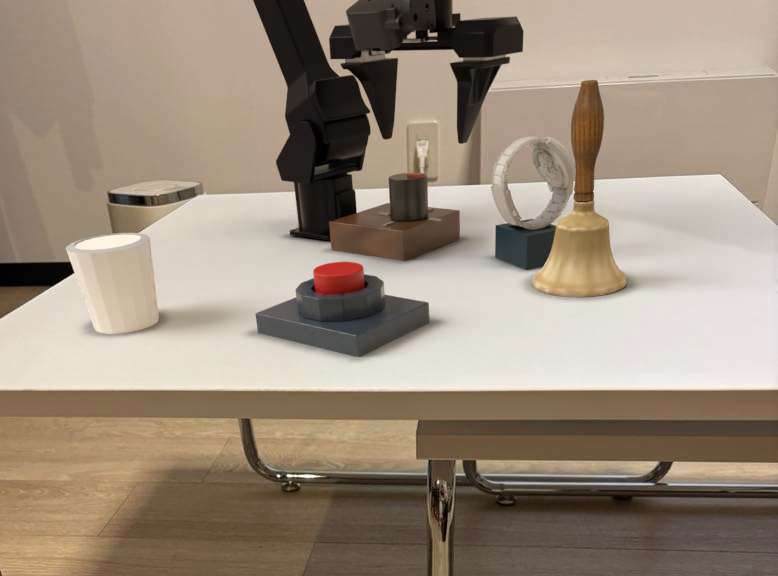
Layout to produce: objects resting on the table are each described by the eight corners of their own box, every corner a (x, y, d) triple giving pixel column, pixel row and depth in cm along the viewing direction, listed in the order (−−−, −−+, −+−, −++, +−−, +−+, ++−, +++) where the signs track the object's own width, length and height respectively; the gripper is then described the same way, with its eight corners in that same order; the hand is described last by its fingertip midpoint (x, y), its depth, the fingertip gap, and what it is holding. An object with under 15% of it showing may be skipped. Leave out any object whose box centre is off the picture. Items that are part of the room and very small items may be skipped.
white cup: (125, 340, 68) (104, 254, 65) (70, 330, 72) (47, 248, 68) (182, 315, 73) (166, 234, 69) (127, 307, 76) (109, 228, 73)
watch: (580, 258, 80) (589, 134, 74) (510, 273, 78) (513, 145, 72) (547, 247, 85) (552, 128, 79) (479, 260, 82) (480, 139, 76)
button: (304, 293, 66) (302, 271, 65) (338, 280, 68) (336, 259, 67) (342, 301, 64) (340, 278, 63) (375, 287, 66) (373, 265, 65)
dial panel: (331, 250, 89) (328, 220, 88) (388, 230, 96) (387, 201, 94) (412, 262, 83) (411, 230, 81) (468, 240, 89) (468, 209, 88)
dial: (382, 219, 87) (380, 175, 84) (405, 211, 89) (404, 168, 87) (413, 222, 84) (411, 177, 82) (435, 214, 87) (435, 170, 85)
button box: (257, 333, 68) (251, 290, 66) (330, 303, 74) (326, 263, 72) (358, 357, 62) (355, 311, 60) (429, 322, 67) (428, 279, 65)
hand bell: (571, 304, 69) (585, 88, 60) (513, 282, 75) (518, 83, 67) (647, 285, 72) (671, 76, 63) (585, 265, 78) (599, 73, 70)
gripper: (281, -43, 73) (300, 149, 82) (457, -62, 63) (457, 160, 72) (360, -45, 80) (370, 132, 89) (530, -62, 70) (522, 140, 79)
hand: (423, 141), depth 82 cm, fingers open, 9 cm apart
